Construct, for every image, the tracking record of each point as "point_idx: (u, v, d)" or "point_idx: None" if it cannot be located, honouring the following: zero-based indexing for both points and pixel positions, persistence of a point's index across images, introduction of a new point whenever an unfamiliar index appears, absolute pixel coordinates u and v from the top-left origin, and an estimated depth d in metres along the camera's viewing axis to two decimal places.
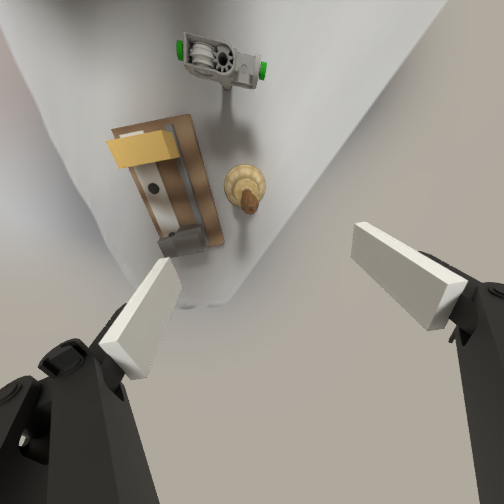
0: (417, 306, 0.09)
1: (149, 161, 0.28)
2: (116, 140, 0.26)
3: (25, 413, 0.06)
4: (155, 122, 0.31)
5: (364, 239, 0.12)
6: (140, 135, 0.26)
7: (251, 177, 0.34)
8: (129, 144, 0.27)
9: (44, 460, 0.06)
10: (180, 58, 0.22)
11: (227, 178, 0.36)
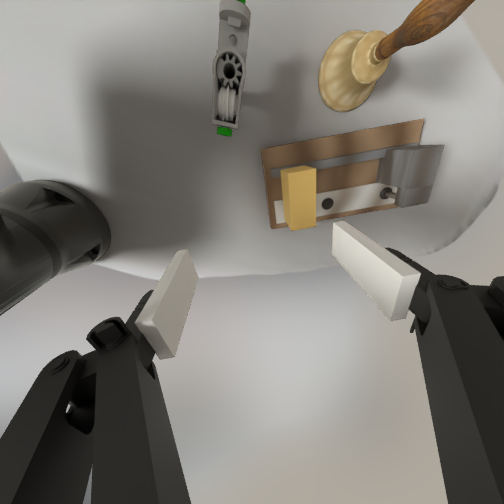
0: (382, 298, 0.09)
1: (314, 194, 0.25)
2: (292, 221, 0.27)
3: (71, 385, 0.07)
4: (268, 187, 0.31)
5: (341, 237, 0.13)
6: (290, 197, 0.25)
7: (347, 51, 0.22)
8: (296, 210, 0.26)
9: (85, 429, 0.07)
10: (231, 133, 0.20)
11: (333, 104, 0.27)
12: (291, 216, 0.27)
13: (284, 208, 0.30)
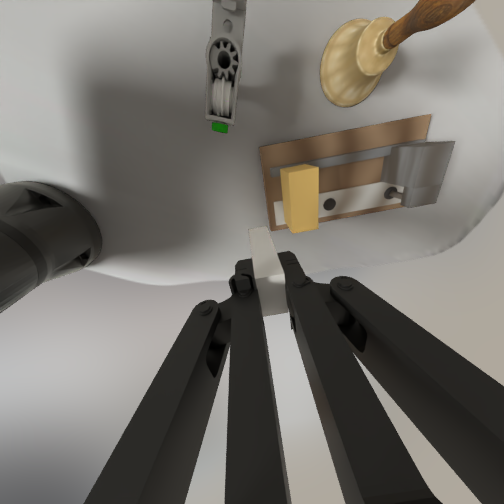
0: None
1: (317, 194, 0.24)
2: (293, 223, 0.25)
3: (212, 332, 0.07)
4: (267, 187, 0.29)
5: None
6: (291, 198, 0.24)
7: (351, 40, 0.20)
8: (297, 211, 0.25)
9: (211, 370, 0.08)
10: (227, 129, 0.19)
11: (335, 98, 0.25)
12: (292, 218, 0.25)
13: (284, 209, 0.29)
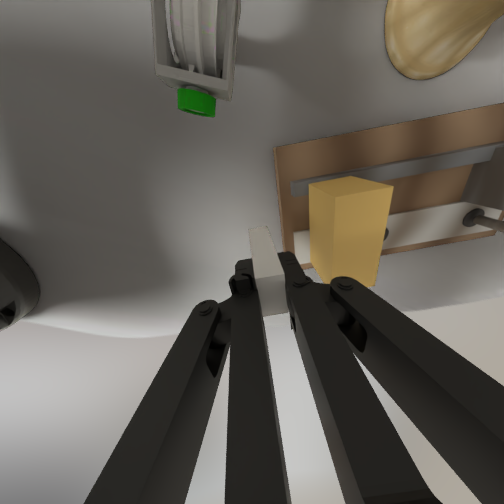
0: None
1: (382, 233, 0.13)
2: None
3: (212, 332, 0.07)
4: (284, 211, 0.19)
5: None
6: (335, 240, 0.13)
7: None
8: (344, 261, 0.14)
9: (212, 370, 0.08)
10: (213, 107, 0.08)
11: (408, 63, 0.14)
12: (333, 271, 0.14)
13: (312, 247, 0.18)
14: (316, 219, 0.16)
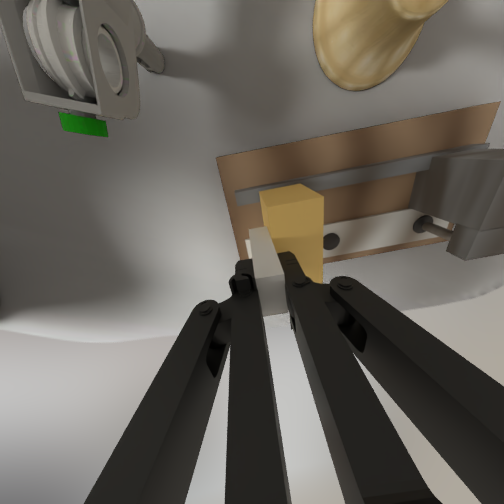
0: None
1: (320, 242, 0.13)
2: None
3: (212, 332, 0.07)
4: (233, 219, 0.19)
5: None
6: None
7: None
8: None
9: (212, 370, 0.08)
10: (99, 128, 0.08)
11: (340, 75, 0.15)
12: None
13: None
14: None
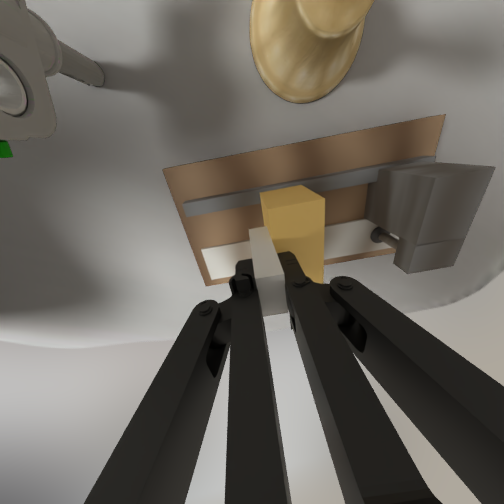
0: None
1: (321, 244, 0.13)
2: None
3: (212, 332, 0.07)
4: (187, 229, 0.19)
5: None
6: None
7: None
8: None
9: (212, 370, 0.08)
10: None
11: (281, 88, 0.15)
12: None
13: None
14: None
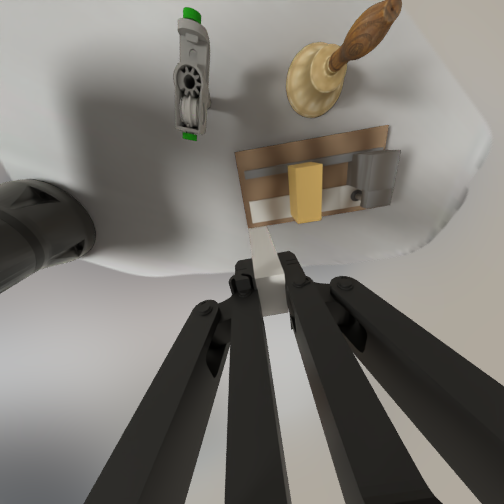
0: None
1: (320, 188, 0.27)
2: (298, 214, 0.28)
3: (212, 332, 0.07)
4: (242, 188, 0.32)
5: None
6: (297, 191, 0.27)
7: (307, 62, 0.24)
8: (303, 203, 0.27)
9: (212, 370, 0.08)
10: (195, 138, 0.22)
11: (300, 110, 0.28)
12: (298, 209, 0.28)
13: (291, 203, 0.32)
14: (291, 184, 0.29)
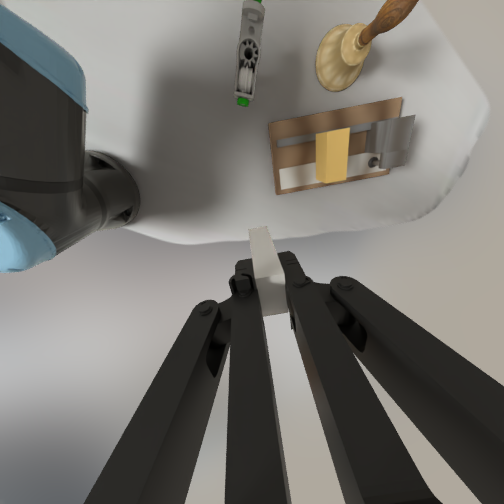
0: None
1: (347, 150, 0.31)
2: (327, 174, 0.33)
3: (212, 332, 0.07)
4: (274, 156, 0.37)
5: None
6: (327, 152, 0.31)
7: (337, 40, 0.28)
8: (331, 164, 0.32)
9: (211, 370, 0.08)
10: (248, 103, 0.26)
11: (327, 84, 0.33)
12: (326, 170, 0.33)
13: (317, 168, 0.36)
14: (319, 149, 0.34)
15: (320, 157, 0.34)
